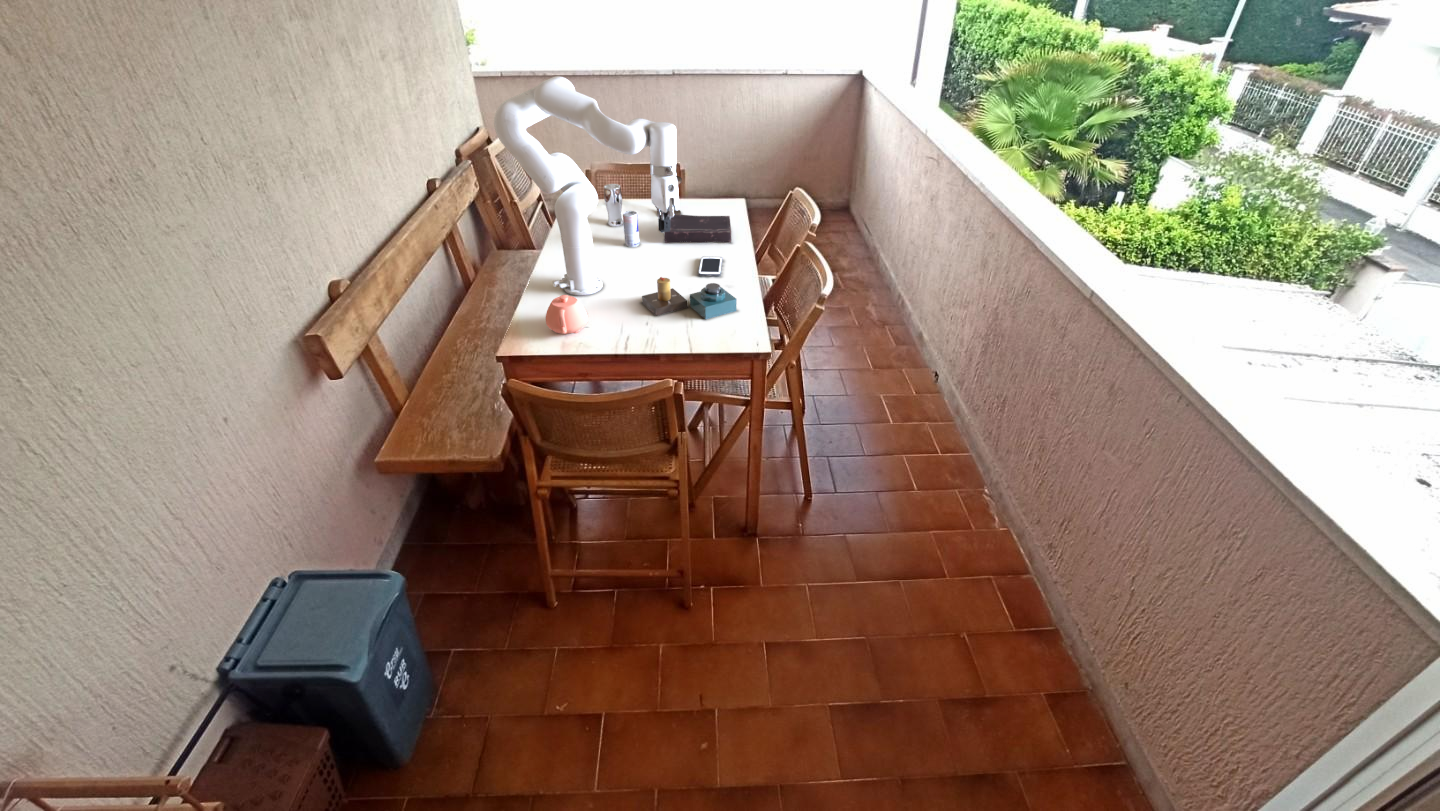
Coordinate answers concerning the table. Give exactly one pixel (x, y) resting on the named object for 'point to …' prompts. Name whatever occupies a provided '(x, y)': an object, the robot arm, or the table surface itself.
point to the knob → (664, 289)
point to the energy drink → (631, 228)
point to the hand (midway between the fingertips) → (664, 231)
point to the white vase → (613, 204)
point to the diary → (698, 229)
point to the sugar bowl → (566, 315)
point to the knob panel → (664, 303)
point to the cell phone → (710, 266)
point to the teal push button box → (712, 303)
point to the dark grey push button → (712, 289)
